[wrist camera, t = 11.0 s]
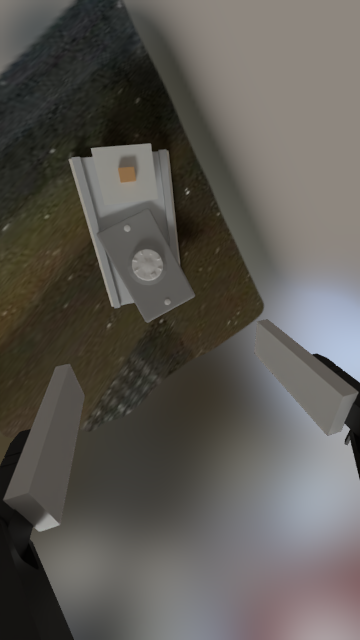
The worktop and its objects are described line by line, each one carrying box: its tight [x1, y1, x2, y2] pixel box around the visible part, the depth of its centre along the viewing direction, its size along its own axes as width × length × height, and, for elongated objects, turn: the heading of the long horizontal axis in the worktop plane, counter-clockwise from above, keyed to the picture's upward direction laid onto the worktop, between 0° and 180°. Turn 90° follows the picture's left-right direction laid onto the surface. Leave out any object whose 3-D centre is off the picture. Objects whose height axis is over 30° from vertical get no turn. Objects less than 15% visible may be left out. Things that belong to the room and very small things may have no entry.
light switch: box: [97, 208, 195, 322], centre depth 33 cm, size 8×6×14 cm
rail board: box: [69, 143, 180, 308], centre depth 30 cm, size 13×21×10 cm, turn 6°
